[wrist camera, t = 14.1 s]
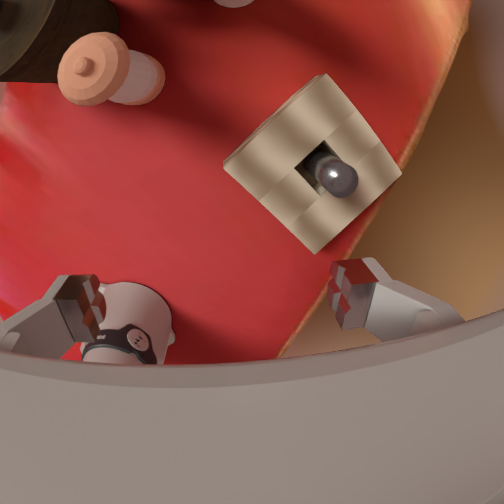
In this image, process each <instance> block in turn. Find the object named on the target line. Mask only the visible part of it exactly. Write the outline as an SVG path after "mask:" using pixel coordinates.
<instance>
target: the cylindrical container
mask: <svg viewBox="0 0 504 504" xmlns="http://www.w3.org/2000/svg"><path fill="white" fill-rule="evenodd" d="M213 1H214V2H216V3H217V4H219V5H221V6H225V7H230V8H237V7H242V6H246V5H248V4H250V3H251V2H253V1H254V0H213Z"/></svg>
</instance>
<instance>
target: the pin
mask: <svg viewBox="0 0 504 504" xmlns="http://www.w3.org/2000/svg"><path fill="white" fill-rule="evenodd" d="M304 167H305V170H306V171H307V172H308V173H309V174H310V175H311V176H312V177H313V178H314V179H315V180H317V181H318V182H319V183H320V184H321V185H322V186H323V187H324V188H325V189H326V190H327V191H328V192H329V193H330V194H331V195H333V196H334V197H337V198H345V197H348V196H350V195H351V194H353V193H354V191H355V190H356V188H357V186H358V182H359V178H358V174H357V172H356V170H355V169H354V168H353V167H351V166H350V165H348V164H346V163H345V162H343V161H341V160H339V159H338V158H336V157H334V156H332V155H331V154H329V153H327V152H325V151H323V150H321V149H314V150H313V151H311V152H310V153H309V154H308V155H307V156H306V157H305V158H304Z"/></svg>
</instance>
